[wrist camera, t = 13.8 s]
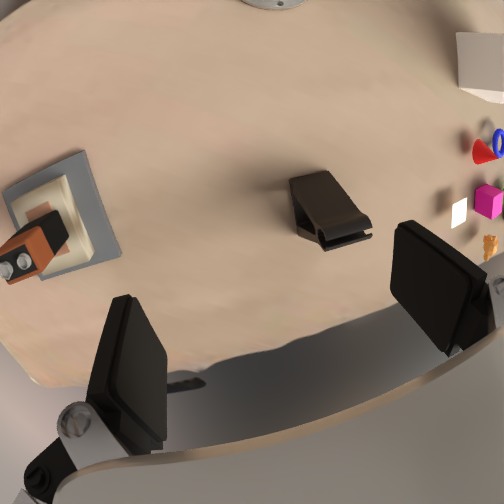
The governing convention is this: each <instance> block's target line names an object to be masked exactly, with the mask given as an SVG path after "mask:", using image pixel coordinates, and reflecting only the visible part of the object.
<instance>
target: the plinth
mask: <svg viewBox="0 0 504 504" xmlns="http://www.w3.org/2000/svg"><path fill="white" fill-rule="evenodd" d="M10 204H11V206H12V209H13V212H14V214H15V217H16V219H17V222H18V224H19V226H20V229H21V228H22V227H23V226H24V225H26V224H27V223H29V222H31V221H33V220H35V219H37V218H39V217H41V216H43V215H45V214H47V213H49V212H52V211H54V210H58V211H59V214H60V216H61V218H62V221H63V223H64V225H65V227H66V229H67V232H68V234H69V238H68V240H67V241H66V242H65V243H64V245H63V246H62V247H61V248H60V250H59V251H58V252H57V254H56V255H55V256H54V257H53V259H52V260H51V261H50V263H49V264H48V265H47V267H46V268H45V270H44V271H43V272H41V273H42V274H43V276H44V275H47V274H51V273H54V272H57V271H60V270H63V269H66V268H69V267H72V266H76V265H79V264H82V263H85V262H89V261H90V259H91V257H92V255H93V254H94V252H95V250H94V248H93V245H92V243H91V241H90V238H89V236H88V234H87V231H86V229H85V227H84V224H83V222H82V219H81V217H80V214H79V212H78V209H77V206H76V204H75V201H74V198H73V196H72V193H71V190H70V187H69V184H68V181H67V178H66V175H63V176H61V177H58V178H56V179H54V180H52V181H50V182H48V183H46V184H44V185H42V186H40V187H37V188H35V189H33V190H31V191H30V192H28V193H26V194H24V195H22V196H20V197H19V198H17V199H16V200H14V201H13V202H11V203H10Z"/></svg>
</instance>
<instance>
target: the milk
mask: <svg viewBox="0 0 504 504" xmlns="http://www.w3.org/2000/svg"><path fill="white" fill-rule="evenodd" d="M456 41H457V54H458V80H459V88H460V89H462V90H465V91H467V92H469V93H471V94H474V95H476V96H478V97H480V98H482V99H484V100H486V101H488V102H494V103H501V104H504V34H497V33H478V32H456Z"/></svg>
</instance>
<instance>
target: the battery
mask: <svg viewBox="0 0 504 504" xmlns="http://www.w3.org/2000/svg"><path fill="white" fill-rule="evenodd" d="M68 238H69V234H68V232H67V229H66V227H65V225H64V223H63V221H62V218H61V216H60V214H59V211H58V210H54V211H52V212H49V213H47V214H45V215H43V216H41V217H39V218H37V219H35V220H33V221H31V222H29V223H27V224H26V225H24V226H23V227H22V228H21V229H20V230H19V231H17V232H16V233H15V234H14V235H13V236H12V237H11V238H10V239H9V240H8V241H7V242H6V243H5V244H4V245H2V246H1V247H0V276H1V277H2V278H4V279H5V280H6V281H7V283H8V284H9V285H11V284H14V283H16V282H19V281H21V280H24V279H26V278H29V277H31V276H34V275H37V274H39V273H41V272H43V271H44V270H45V268H46V267H47V265H48V264H49V263H50V261H51V260H52V259H53V257H54V256H55V255H56V254H57V252H58V251H59V250H60V248H61V247H62V246H63V245H64V243H65V242H66V241H67V240H68Z"/></svg>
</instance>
